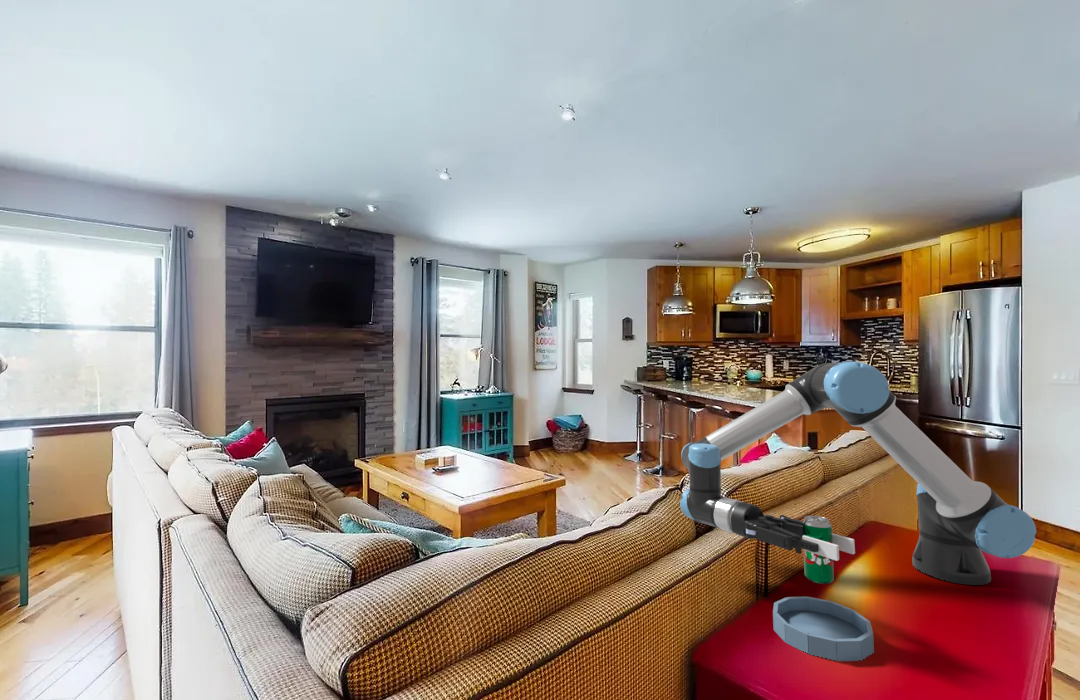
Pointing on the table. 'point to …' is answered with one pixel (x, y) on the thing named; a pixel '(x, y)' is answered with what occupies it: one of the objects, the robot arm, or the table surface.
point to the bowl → (823, 628)
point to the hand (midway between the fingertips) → (845, 549)
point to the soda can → (816, 565)
